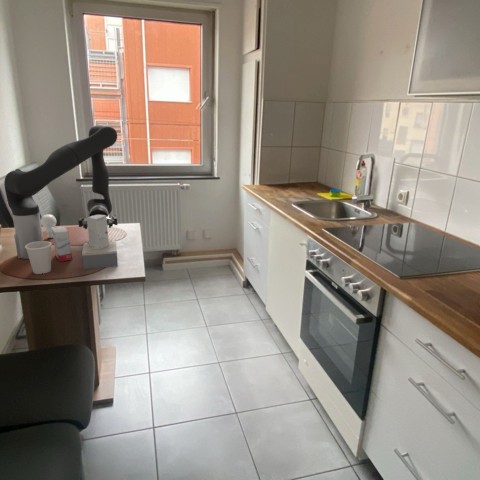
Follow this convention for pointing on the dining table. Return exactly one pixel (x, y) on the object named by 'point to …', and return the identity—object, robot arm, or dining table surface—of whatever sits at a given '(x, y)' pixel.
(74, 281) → the dining table surface
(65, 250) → the ink box
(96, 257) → the plinth
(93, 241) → the skincare box
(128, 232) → the dining table surface
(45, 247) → the dixie cup
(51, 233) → the lightbulb
